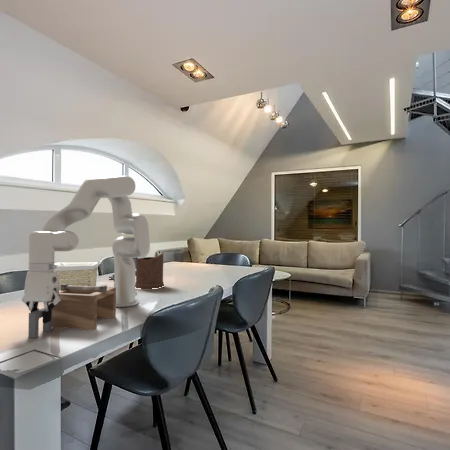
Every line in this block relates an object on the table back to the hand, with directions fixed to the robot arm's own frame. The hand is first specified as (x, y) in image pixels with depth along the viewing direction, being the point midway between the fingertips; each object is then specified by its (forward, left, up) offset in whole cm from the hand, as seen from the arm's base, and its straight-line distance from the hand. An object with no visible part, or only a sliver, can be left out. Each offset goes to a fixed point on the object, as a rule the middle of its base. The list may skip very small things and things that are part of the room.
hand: (40, 321), depth 106 cm
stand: (-15, +6, -4) cm, 17 cm away
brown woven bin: (-84, +2, -5) cm, 84 cm away
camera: (-102, -27, -5) cm, 106 cm away
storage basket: (-70, -35, -5) cm, 78 cm away
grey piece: (0, 0, -4) cm, 4 cm away
